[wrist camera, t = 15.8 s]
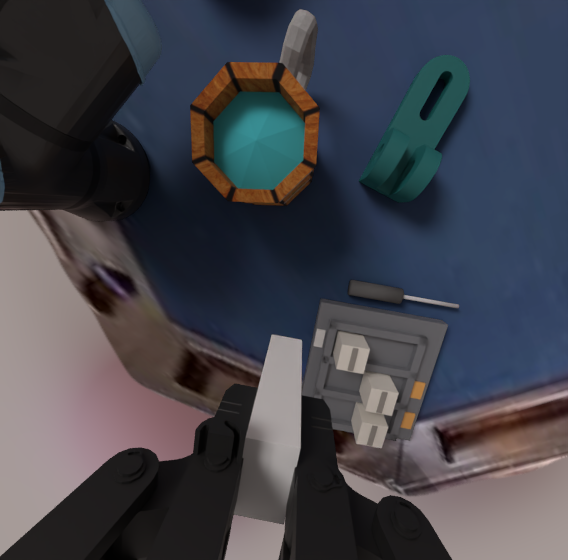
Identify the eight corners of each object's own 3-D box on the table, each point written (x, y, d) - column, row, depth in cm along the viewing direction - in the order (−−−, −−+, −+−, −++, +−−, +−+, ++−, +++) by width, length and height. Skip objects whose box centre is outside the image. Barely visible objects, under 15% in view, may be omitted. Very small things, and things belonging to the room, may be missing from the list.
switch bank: (296, 411, 52) (296, 423, 49) (320, 298, 47) (321, 304, 44) (405, 431, 52) (412, 446, 49) (441, 320, 46) (451, 328, 43)
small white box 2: (351, 420, 49) (356, 444, 44) (356, 400, 48) (362, 422, 43) (374, 425, 49) (382, 449, 44) (379, 405, 48) (388, 427, 43)
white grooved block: (359, 390, 48) (365, 411, 43) (364, 369, 47) (371, 388, 42) (382, 395, 48) (392, 416, 43) (388, 374, 47) (398, 393, 42)
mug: (292, 223, 44) (287, 229, 30) (212, 185, 44) (167, 173, 29) (352, 92, 40) (381, 24, 25) (264, 48, 39) (240, -48, 25)
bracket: (397, 202, 43) (418, 200, 35) (358, 181, 43) (370, 175, 35) (470, 78, 39) (511, 46, 31) (427, 54, 38) (458, 15, 31)
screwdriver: (346, 292, 46) (349, 296, 44) (350, 278, 46) (352, 281, 43) (451, 311, 46) (459, 316, 44) (456, 297, 45) (464, 301, 43)
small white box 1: (332, 352, 47) (336, 369, 42) (338, 330, 46) (342, 344, 41) (357, 357, 46) (363, 374, 41) (362, 334, 46) (370, 349, 41)
